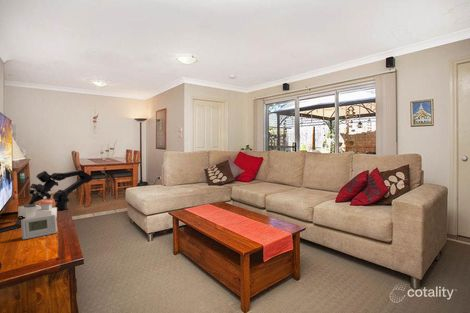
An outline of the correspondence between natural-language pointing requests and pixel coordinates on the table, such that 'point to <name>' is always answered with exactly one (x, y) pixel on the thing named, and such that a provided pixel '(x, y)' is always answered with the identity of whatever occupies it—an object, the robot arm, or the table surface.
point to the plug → (30, 205)
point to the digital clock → (38, 226)
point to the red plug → (46, 204)
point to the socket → (28, 211)
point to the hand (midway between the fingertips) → (29, 203)
